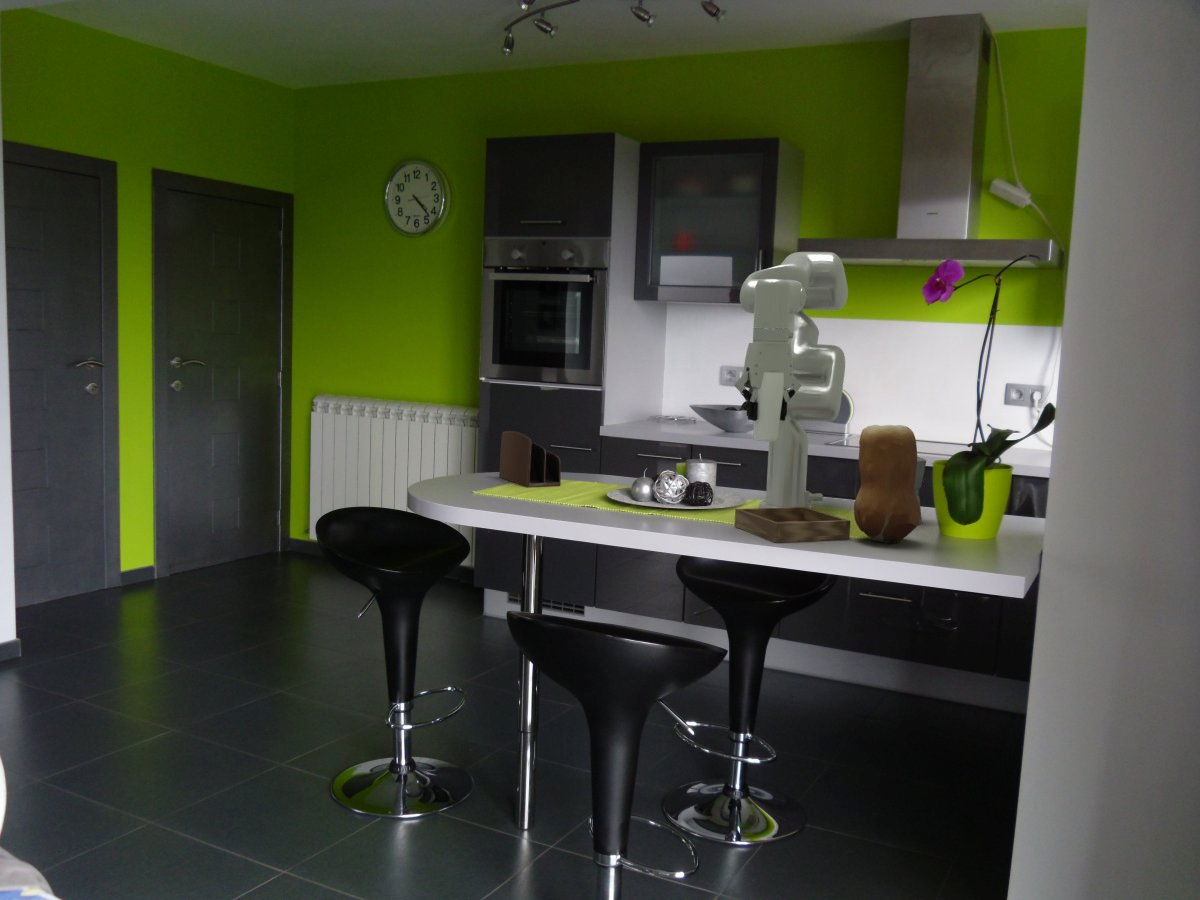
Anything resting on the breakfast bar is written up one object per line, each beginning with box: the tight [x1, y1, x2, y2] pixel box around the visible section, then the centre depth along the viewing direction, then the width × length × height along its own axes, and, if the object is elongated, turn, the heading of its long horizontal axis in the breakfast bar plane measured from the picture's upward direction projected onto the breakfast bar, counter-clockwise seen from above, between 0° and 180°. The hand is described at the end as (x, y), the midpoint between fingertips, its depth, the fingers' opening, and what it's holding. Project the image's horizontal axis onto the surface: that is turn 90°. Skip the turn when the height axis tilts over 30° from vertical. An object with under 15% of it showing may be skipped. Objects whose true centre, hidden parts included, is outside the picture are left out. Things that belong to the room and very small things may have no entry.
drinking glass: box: [752, 372, 784, 443], centre depth 236 cm, size 7×7×15 cm
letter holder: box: [498, 430, 562, 489], centre depth 299 cm, size 10×20×14 cm, turn 28°
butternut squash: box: [853, 424, 922, 545], centre depth 228 cm, size 14×13×25 cm
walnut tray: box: [734, 507, 852, 544], centre depth 236 cm, size 18×18×4 cm
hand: (766, 419), depth 236 cm, fingers closed on drinking glass, 6 cm apart
